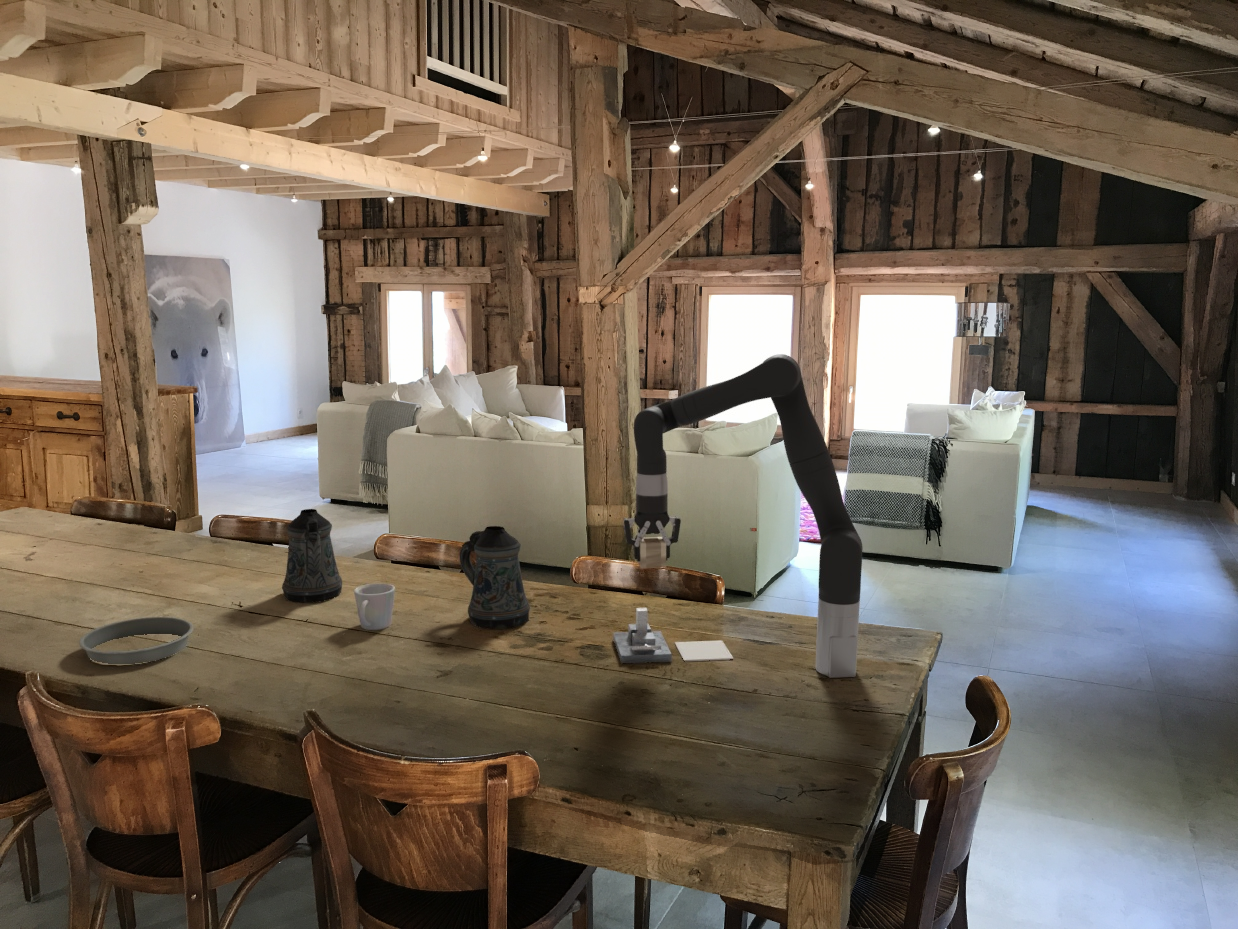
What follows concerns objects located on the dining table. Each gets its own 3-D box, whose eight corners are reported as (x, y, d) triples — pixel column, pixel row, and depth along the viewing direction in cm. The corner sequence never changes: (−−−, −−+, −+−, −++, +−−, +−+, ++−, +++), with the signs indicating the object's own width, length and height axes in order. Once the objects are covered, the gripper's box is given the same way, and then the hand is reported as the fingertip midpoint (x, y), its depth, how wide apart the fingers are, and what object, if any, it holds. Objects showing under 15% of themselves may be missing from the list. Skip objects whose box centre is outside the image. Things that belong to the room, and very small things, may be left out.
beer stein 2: (526, 630, 243) (525, 536, 239) (451, 629, 243) (449, 535, 239) (533, 610, 259) (532, 521, 255) (463, 609, 260) (461, 520, 255)
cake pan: (57, 658, 222) (55, 640, 221) (151, 627, 244) (149, 610, 243) (124, 677, 211) (123, 658, 210) (216, 643, 232) (215, 626, 232)
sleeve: (666, 567, 223) (666, 542, 222) (641, 568, 222) (641, 543, 221) (661, 560, 229) (661, 536, 228) (637, 561, 228) (637, 537, 227)
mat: (733, 659, 224) (733, 658, 224) (683, 661, 222) (683, 659, 222) (721, 642, 236) (722, 640, 235) (674, 643, 234) (674, 642, 234)
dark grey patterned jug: (321, 582, 283) (317, 501, 279) (360, 595, 271) (357, 510, 267) (271, 595, 270) (266, 510, 266) (309, 609, 258) (305, 520, 254)
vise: (671, 662, 222) (672, 619, 220) (621, 664, 221) (621, 621, 219) (660, 638, 238) (660, 598, 236) (613, 640, 236) (613, 600, 234)
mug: (401, 619, 250) (400, 583, 249) (382, 639, 236) (381, 600, 234) (363, 618, 251) (362, 582, 250) (342, 637, 237) (340, 599, 235)
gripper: (623, 495, 218) (624, 565, 221) (684, 493, 220) (684, 563, 222) (619, 489, 225) (620, 557, 228) (678, 487, 227) (678, 555, 230)
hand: (651, 560), depth 225 cm, fingers closed on sleeve, 6 cm apart
